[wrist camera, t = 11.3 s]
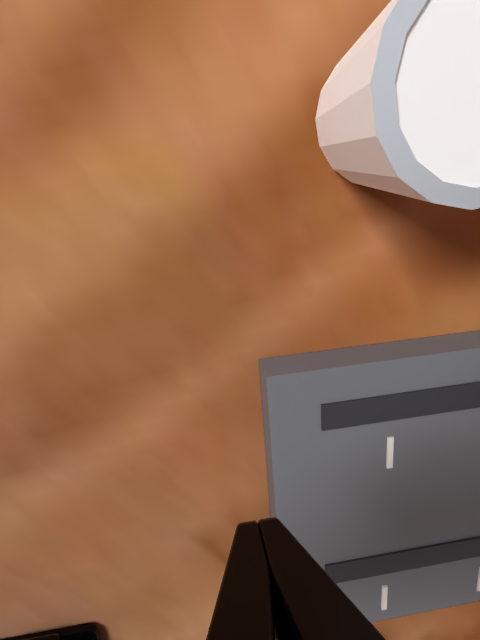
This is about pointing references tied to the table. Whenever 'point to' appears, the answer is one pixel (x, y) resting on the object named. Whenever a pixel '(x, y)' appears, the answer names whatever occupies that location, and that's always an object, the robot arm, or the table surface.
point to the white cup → (409, 104)
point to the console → (381, 467)
